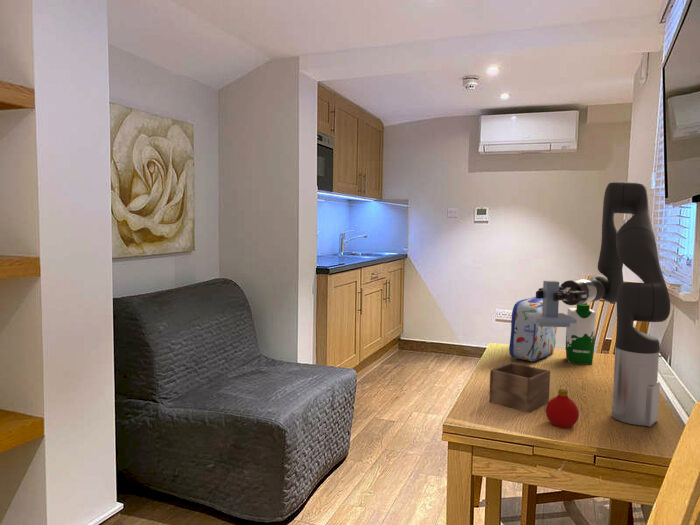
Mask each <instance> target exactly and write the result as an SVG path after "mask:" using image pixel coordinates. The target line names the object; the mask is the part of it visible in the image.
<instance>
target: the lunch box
mask: <svg viewBox="0 0 700 525" xmlns="http://www.w3.org/2000/svg"><path fill="white" fill-rule="evenodd" d="M542 308H543V298H541V299H538V298H536V296H533V297H530V298H524V299H520V300H518V301H516V302H515V304H514V305H513V307H512V311H511V321H510V322H511V323H510V327H511V328H510V338H509V346H508V351H509V356H510V357H511V358H516V359H520V360H523V361H529V362H535V361H538V360H541V359H544V358H547V357H548V356H549V355H551V354H553V353H554V351H555V348H556V344H557V343H556V342H557V341H556V340H557V339H556V336H557V330H558V329H557V328H558V327H539V326H538V325H536V324H534V323H533V322H531V319H530V318H528V317H526V316H525V312H526V313H542Z"/></svg>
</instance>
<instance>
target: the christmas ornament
mask: <svg viewBox="0 0 700 525" xmlns="http://www.w3.org/2000/svg"><path fill="white" fill-rule="evenodd" d="M562 386H565V387H566V389H563V388H561V387H562ZM568 391H569V390H568V387H567V386H566V385H565V384H562V385H560V387H559V389H558V391H557V392H558V394H557V395H556V396H555V397H553V398H551V399H549V402H548V403H547V404H546V405H545V406H546V407H545V416H546V418H547V420H548V421H549V422H550V423H551V425H553V426H555V427H556V428H560V429H568V428H571V427H573V426H574V425H575V424H577V422H578V420H579V415H580V411H579V409H578V408H579V407H578V406H577V404H576V403H575V401H573V400H572V399H571V398H570V397H569V396H568V393H569V392H568Z"/></svg>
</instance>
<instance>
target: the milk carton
mask: <svg viewBox="0 0 700 525" xmlns="http://www.w3.org/2000/svg"><path fill="white" fill-rule="evenodd" d="M566 315H568V316H570V317H572V318H574V319H576V320H577V323H570V327H565V328H566V329H565V353H566V354H565V355H566V357H565V358H566V359H567V361H568V362H569V364H577V365H578V364H579V365H593V359H594V353H595V341H596V338H595V337H596V317H597V313H596V311H595V310H594V309H591V307H590V304H588V303H585V304H579V305H576V307H568V308H567V313H566Z"/></svg>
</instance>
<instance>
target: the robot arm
mask: <svg viewBox="0 0 700 525" xmlns="http://www.w3.org/2000/svg"><path fill="white" fill-rule="evenodd" d="M649 204H650V202H649V193H648V189H647V186H646V184H644V183H641V182H637V181H634V182H633V181H611V182H609V183H608V184H607V185H606V188H605V191H604V196H603V204H602V205H603V206H602V219H601V220H602V221H601V245H600V251H599V256H598V257H599V258H598V262H597V271H598V272H599V273H600V274H595V275H593V276H591V277H590V278H588V279H583V278H582V279H571V280H566V281H564V282H562V283H561V284H560V285H559V292H557V293H553V301H559V302H560V301H562V302H563V303H564V304H565V305H567V306H577V305H579V304H588V303H591V302H597V301H600V300H603V301H606V302H608V303H610V304H615V303H616V333H615V334H616V335H615V336H616V337H615V349H614V350H615V351H614V367H613V368H614V369H613V370H614V371H613V382H612V383H613V384H612V385H613V388H612V403H611V416H612V417H613V419H615V420H616V421H620V422H622V423H626V424H629V425H630V424H631V425H635V426H644V427H645V426H646V427H652V426H653V425H654V424H655V423H656V422H657V421H658V417H659V403H660V387H661V386H660V385H661V384H660V381H658V378H659V376H658V375H659V360H660V359H659V358H660V346H661V344H660V341H659V339H658V338H656V337H655V336H652V335H650V334H647V333H645V332H642V331H640V330H638V329H637V328H635V326H634V325H633V322H644V323H645V322H646V323H660V322H665V321H667V319H668V318H669V316H670V312H671V299H670V298H671V297H670V293H669V291H668V286H667V283H666V281H665V280H666V279H665V277H664V275H663V271H662V269H661V265H660V261H659V254H658V248H657V242H656V237H655V234H654V229H653V226H652V220H651V216H650V215H651V214H650V206H649ZM615 214H624V215H625V214H628V215H632V216H631V217H630V218H628V220H627V221H626V222H624V223H623V225H622V226H620V228H619V229H617V226H616V223H615ZM623 266H625V267H626V268H627V269H629V270H630V271H631V272H632V273H633V274H635V275H636V276H637V277H638V278H639V279H640V280H641V281H642V282H636V281H635V282H633V281H624V274H623V273H624V272H623ZM535 297H536V298H538V299H541V298H543V287H541V288H538V289H537V291H535Z"/></svg>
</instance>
